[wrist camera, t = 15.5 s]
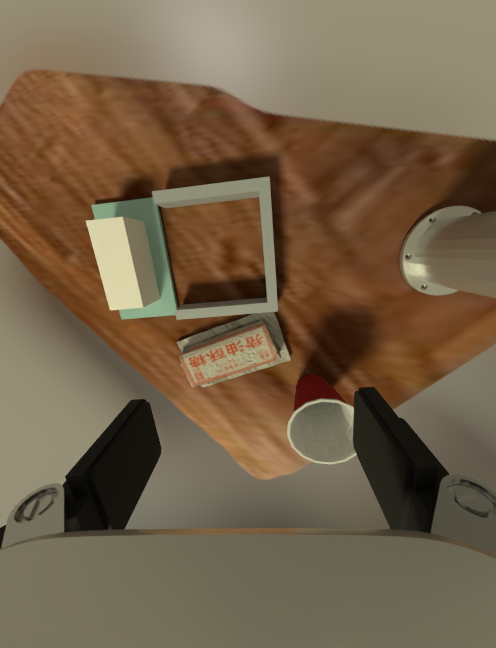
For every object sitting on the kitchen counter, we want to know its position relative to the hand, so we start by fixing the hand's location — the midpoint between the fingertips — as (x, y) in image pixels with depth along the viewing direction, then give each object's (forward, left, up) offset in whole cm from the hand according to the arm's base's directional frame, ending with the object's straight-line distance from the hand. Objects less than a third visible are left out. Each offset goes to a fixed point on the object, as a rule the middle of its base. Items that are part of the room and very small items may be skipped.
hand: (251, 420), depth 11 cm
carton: (+19, -7, -30) cm, 36 cm away
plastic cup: (-8, +18, -31) cm, 36 cm away
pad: (+19, -7, -30) cm, 36 cm away
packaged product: (+5, +9, -31) cm, 33 cm away
